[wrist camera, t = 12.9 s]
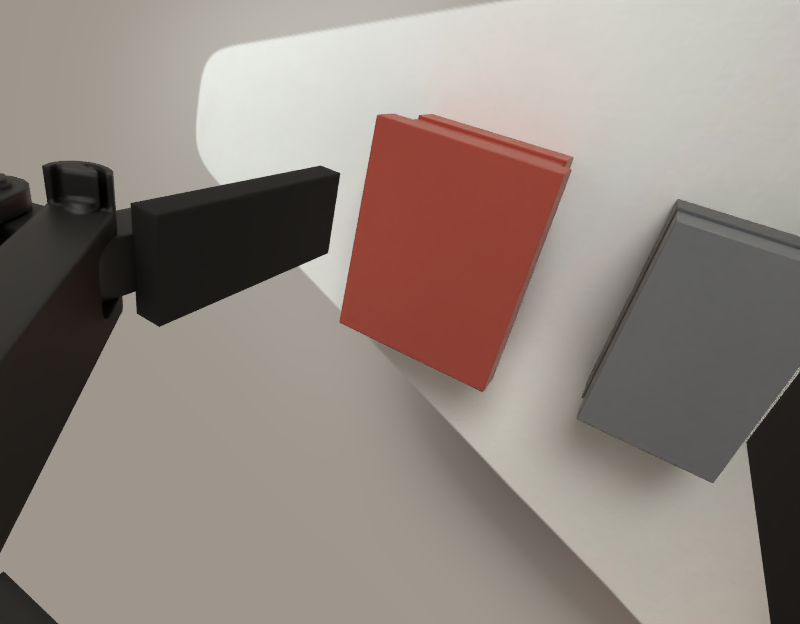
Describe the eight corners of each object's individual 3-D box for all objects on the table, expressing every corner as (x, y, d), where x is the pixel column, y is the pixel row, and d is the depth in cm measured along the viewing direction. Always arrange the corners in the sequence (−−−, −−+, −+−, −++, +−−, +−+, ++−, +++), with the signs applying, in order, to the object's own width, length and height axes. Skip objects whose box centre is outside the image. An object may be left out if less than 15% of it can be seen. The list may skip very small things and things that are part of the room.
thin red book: (393, 113, 30) (376, 114, 29) (572, 169, 27) (564, 173, 25) (354, 312, 37) (338, 322, 35) (492, 378, 33) (483, 392, 32)
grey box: (677, 198, 28) (676, 215, 24) (839, 249, 26) (868, 277, 22) (587, 380, 35) (574, 418, 31) (711, 435, 32) (714, 484, 28)
